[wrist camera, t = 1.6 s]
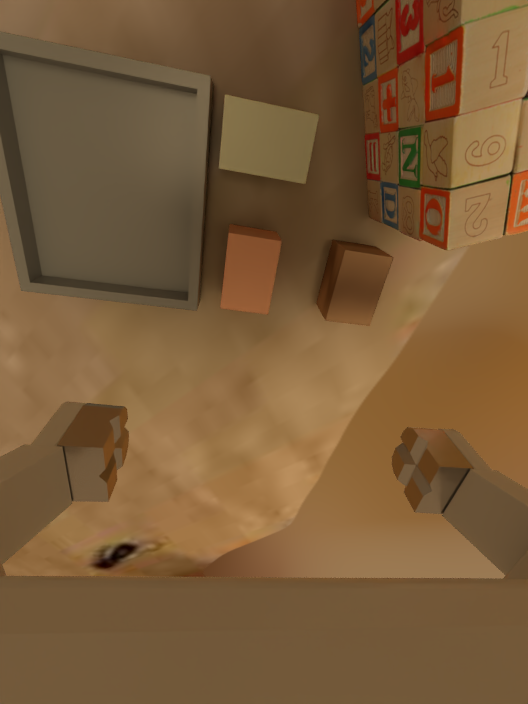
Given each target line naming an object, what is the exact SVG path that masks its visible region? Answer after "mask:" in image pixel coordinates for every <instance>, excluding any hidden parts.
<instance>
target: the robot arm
mask: <svg viewBox="0 0 528 704" xmlns="http://www.w3.org/2000/svg"><path fill="white" fill-rule="evenodd" d="M127 420H128V414H127V408H126V407H123V406H112V405H102V404H91V403H87V404H86V403H77V402H65V403H63V404H62V405H61V406H60V407H59V409H58V410H57V411H56V413H55V414H54V415H53V416H52V418H51V419H50V420H49V422H48V423H47V424H46V426H45V427H44V428H43V430H42V431H41V432H40V433H39V435H38V436H37V437H36V439H35V440H34V441H33V443H32V444H31V445H22V446H20V447H18V448H17V449H15V450H13V451H11V452H9V453H7V454H5V455H3V456H1V457H0V704H528V489H526V488H525V487H523V486H522V485H520V484H518V483H517V482H515V481H513V480H512V479H510V478H508V477H506V476H505V475H503V474H502V473H500V472H499V471H495V470H492V469H491V468H490V467H489V466H488V465H487V464H486V463H485V462H484V460H483V459H482V458H481V457H480V456H479V455H478V453H477V452H476V451H475V450H474V449H473V448H472V446H471V445H470V444H469V443H468V442H467V441H466V439H465V438H464V437H463V436H462V435H461V434H460V433H459V432H457V431H456V430H453V429H426V428H411V427H407V428H406V429H405V430H404V431H403V433H402V435H401V440H402V442H403V443H402V444H400V445H399V446H398V447H396V448H395V451H394V453H393V456H392V467H393V471H394V474H395V476H396V478H397V480H399V481H400V482H401V483H402V484H404V485H405V490H404V493H405V495H406V497H407V499H408V501H409V503H410V504H411V506H412V508H413V510H414V512H420V513H434V514H443V515H442V516H443V517H444V518H445V519H446V520H447V521H448V522H450V523H451V524H452V525H453V526H454V527H455V528H456V529H457V530H458V531H459V532H460V533H461V534H462V535H463V536H465V538H467V539H468V540H469V541H470V542H471V543H472V544H473V545H474V546H475V547H476V548H477V549H478V550H479V551H480V552H481V553H482V554H483V555H485V556H486V557H487V558H488V559H489V560H490V561H491V562H492V563H493V564H494V565H495V566H496V567H497V568H498V569H499V570H501V571H502V572H503V573H504V574H505V575H506V576H505V577H504V578H503V579H471V578H465V579H464V578H276V577H275V578H273V577H272V578H271V577H268V578H267V577H106V576H6V574H5V571H4V568H3V566H2V564H3V563H5V562H6V561H7V560H8V559H9V558H10V557H11V556H13V555H14V554H15V553H16V552H17V551H18V550H19V549H21V548H22V547H23V546H24V545H25V544H26V543H27V542H29V541H30V540H31V539H32V538H33V537H34V536H35V535H37V534H38V533H39V532H40V531H41V530H42V529H43V528H45V527H46V526H47V525H48V524H49V523H50V522H51V521H53V520H54V519H55V518H56V517H57V516H58V515H60V514H61V513H62V512H63V511H64V510H65V509H66V508H68V507H69V506H70V505H71V504H72V501H98V502H109V499H110V497H111V494H112V492H113V489H114V487H115V484H116V482H117V470H118V469H119V468H121V467H122V466H123V464H124V461H125V458H126V454H127V450H128V443H129V431H128V430H127V429H126V428H125V424H126V422H127Z"/></svg>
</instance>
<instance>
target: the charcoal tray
mask: <svg viewBox="0 0 528 704" xmlns="http://www.w3.org/2000/svg"><path fill="white" fill-rule="evenodd" d="M212 98H213V81H212V78H211V76H210V75H205V74H200V73H195V72H191V71H186V70H181V69H176V68H172V67H167V66H162V65H157V64H153V63H148V62H143V61H138V60H134V59H129V58H124V57H119V56H114V55H110V54H105V53H100V52H95V51H91V50H86V49H81V48H76V47H72V46H67V45H62V44H57V43H53V42H48V41H43V40H38V39H33V38H29V37H24V36H19V35H14V34H10V33H5V32H0V196H1V200H2V205H3V210H4V214H5V219H6V223H7V228H8V233H9V237H10V242H11V247H12V251H13V256H14V260H15V265H16V270H17V274H18V279H19V284H20V288H21V291H27V292H36V293H45V294H54V295H62V296H71V297H80V298H89V299H98V300H106V301H115V302H124V303H133V304H142V305H151V306H159V307H168V308H177V309H186V310H195V311H197V309H198V306H199V302H200V292H201V276H202V260H203V244H204V227H205V211H206V195H207V179H208V163H209V146H210V130H211V114H212Z"/></svg>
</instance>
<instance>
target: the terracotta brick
mask: <svg viewBox="0 0 528 704" xmlns="http://www.w3.org/2000/svg"><path fill="white" fill-rule="evenodd" d="M281 243H282V241H281V239H280V237H279V235H278V234H277V232H275V231H269V230H263V229H257V228H251V227H245V226H238V225H232V224H230V226H229V234H228V243H227V252H226V261H225V270H224V279H223V288H222V297H221V306H220V308H222V309H230V310H237V311H245V312H253V313H261V314H268V312H269V307H270V302H271V296H272V291H273V286H274V280H275V275H276V270H277V265H278V259H279V254H280V249H281Z"/></svg>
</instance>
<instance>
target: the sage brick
mask: <svg viewBox="0 0 528 704" xmlns="http://www.w3.org/2000/svg"><path fill="white" fill-rule="evenodd" d="M318 118H319V115H318V114H314V113H309V112H304V111H300V110H295V109H291V108H286V107H281V106H277V105H272V104H267V103H263V102H258V101H253V100H249V99H244V98H239V97H235V96H230V95H226V94H225V100H224V112H223V124H222V136H221V148H220V160H219V168H220V169H225V170H231V171H236V172H242V173H247V174H252V175H258V176H263V177H269V178H274V179H280V180H285V181H291V182H296V183H302V184H305V183H306V178H307V173H308V168H309V163H310V158H311V153H312V148H313V143H314V138H315V133H316V128H317V123H318Z"/></svg>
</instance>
